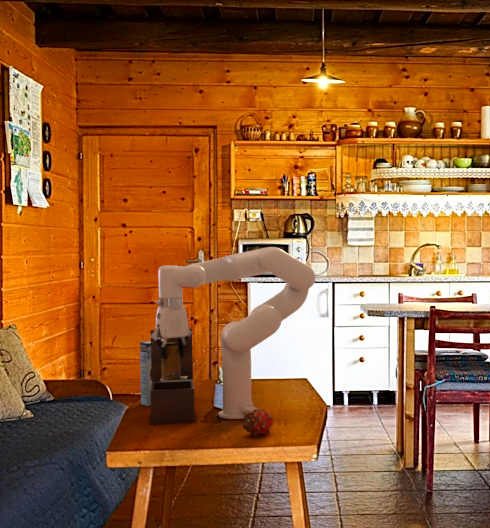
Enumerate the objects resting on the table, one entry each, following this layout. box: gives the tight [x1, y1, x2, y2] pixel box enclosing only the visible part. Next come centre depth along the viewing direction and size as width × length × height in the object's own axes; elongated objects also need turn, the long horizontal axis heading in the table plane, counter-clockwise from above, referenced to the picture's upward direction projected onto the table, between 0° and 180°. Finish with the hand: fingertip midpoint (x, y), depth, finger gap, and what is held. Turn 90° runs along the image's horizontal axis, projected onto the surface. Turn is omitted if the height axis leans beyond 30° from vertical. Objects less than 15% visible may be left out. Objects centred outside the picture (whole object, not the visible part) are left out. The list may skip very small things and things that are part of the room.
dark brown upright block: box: [150, 328, 194, 381], centre depth 290 cm, size 18×14×5 cm
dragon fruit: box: [242, 408, 274, 437], centre depth 254 cm, size 8×8×12 cm
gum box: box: [139, 340, 194, 407], centre depth 310 cm, size 20×5×23 cm, turn 134°
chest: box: [150, 380, 196, 425], centre depth 281 cm, size 17×14×11 cm
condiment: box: [160, 342, 188, 380], centre depth 278 cm, size 7×8×12 cm
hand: (172, 357), depth 277 cm, fingers closed on condiment, 6 cm apart
